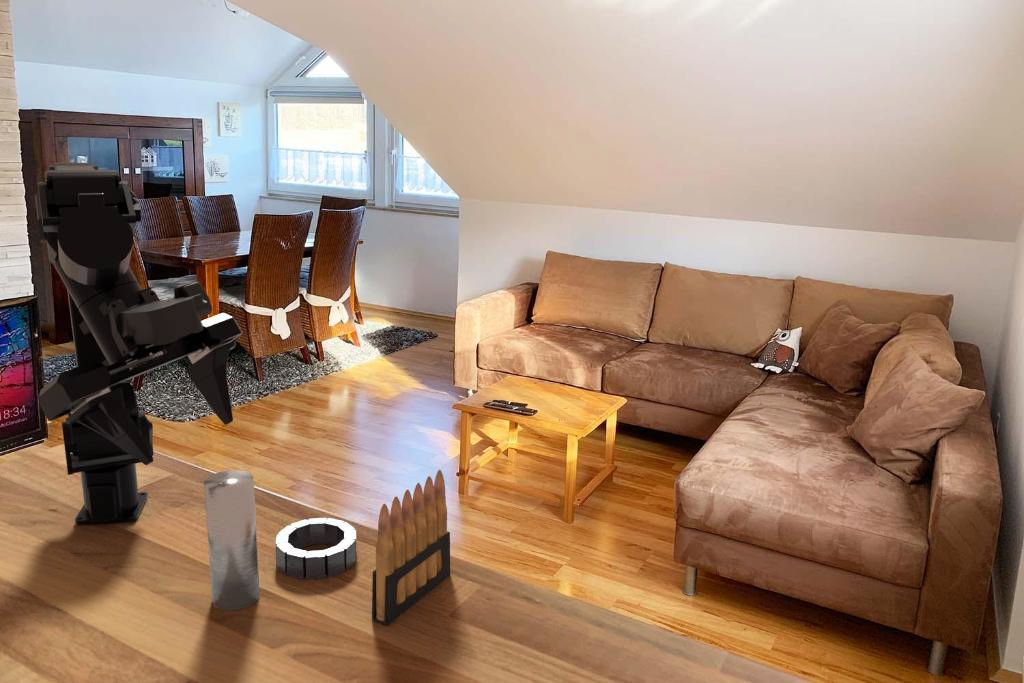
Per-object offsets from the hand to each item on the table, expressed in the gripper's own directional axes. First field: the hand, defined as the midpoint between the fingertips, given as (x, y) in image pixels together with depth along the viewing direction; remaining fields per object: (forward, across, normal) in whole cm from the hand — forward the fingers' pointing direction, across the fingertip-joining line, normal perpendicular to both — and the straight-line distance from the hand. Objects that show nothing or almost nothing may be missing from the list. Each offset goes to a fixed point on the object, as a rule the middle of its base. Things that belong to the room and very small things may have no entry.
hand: (191, 442), depth 81 cm
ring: (+17, +9, +4) cm, 19 cm away
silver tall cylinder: (+15, -1, +5) cm, 16 cm away
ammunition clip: (+24, +9, -6) cm, 26 cm away
